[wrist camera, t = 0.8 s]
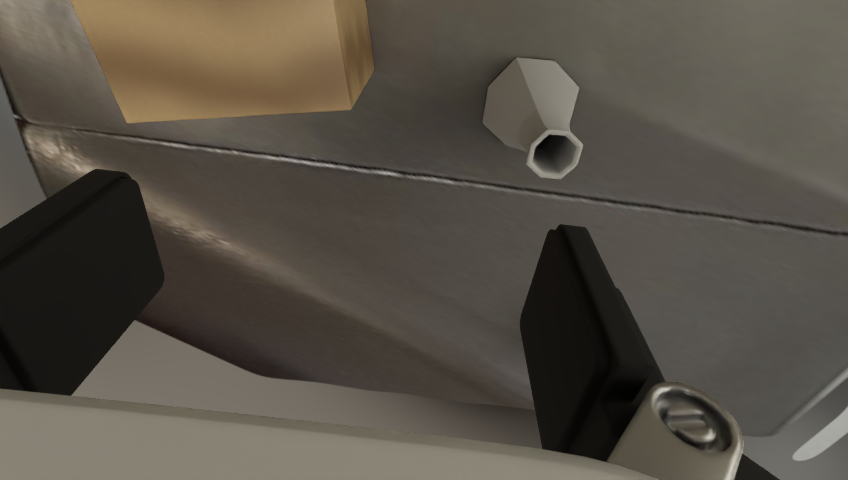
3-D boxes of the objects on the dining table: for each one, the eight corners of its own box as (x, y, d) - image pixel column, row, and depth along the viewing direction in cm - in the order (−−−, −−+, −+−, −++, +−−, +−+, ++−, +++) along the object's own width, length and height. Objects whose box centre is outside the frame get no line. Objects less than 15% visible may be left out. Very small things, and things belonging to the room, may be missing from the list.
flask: (466, 127, 36) (472, 182, 27) (511, 38, 32) (533, 71, 24) (544, 161, 37) (571, 223, 29) (595, 80, 33) (644, 125, 25)
